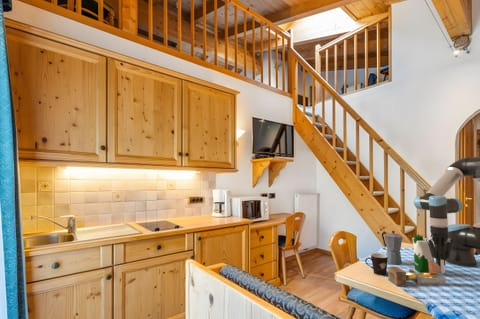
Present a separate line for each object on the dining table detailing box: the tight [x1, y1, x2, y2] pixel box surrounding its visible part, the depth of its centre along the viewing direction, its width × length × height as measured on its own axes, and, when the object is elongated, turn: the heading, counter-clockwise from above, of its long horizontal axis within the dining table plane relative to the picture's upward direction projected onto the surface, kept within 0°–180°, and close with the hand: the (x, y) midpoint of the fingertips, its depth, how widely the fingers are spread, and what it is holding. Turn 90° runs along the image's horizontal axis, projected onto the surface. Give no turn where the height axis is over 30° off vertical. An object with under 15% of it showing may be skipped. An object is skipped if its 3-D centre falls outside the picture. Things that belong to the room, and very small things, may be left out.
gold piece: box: [406, 261, 440, 282], centre depth 141 cm, size 16×4×9 cm, turn 90°
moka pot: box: [381, 230, 404, 266], centre depth 171 cm, size 10×15×20 cm, turn 24°
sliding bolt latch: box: [408, 268, 447, 286], centre depth 141 cm, size 14×7×6 cm, turn 90°
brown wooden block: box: [387, 266, 408, 287], centre depth 141 cm, size 5×7×7 cm
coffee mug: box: [364, 252, 388, 276], centre depth 155 cm, size 12×9×10 cm
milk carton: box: [412, 234, 435, 273], centre depth 155 cm, size 9×9×20 cm
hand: (441, 271), depth 141 cm, fingers closed
